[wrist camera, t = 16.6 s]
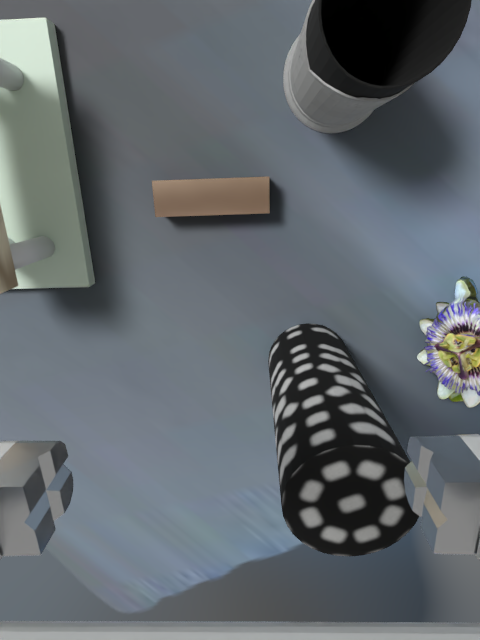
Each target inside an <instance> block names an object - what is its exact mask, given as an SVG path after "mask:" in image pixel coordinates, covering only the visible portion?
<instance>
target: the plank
mask: <svg viewBox="0 0 480 640" xmlns="http://www.w3.org/2000/svg"><path fill="white" fill-rule="evenodd" d="M17 286H18V281H17V277H16V272H15V268H14V263H13V259H12V254H11V250H10V245H9V241H8V236H7V232H6V227H5V223H4V218H3V214H2V209H1V205H0V294H1V293H3V292H6V291H8V290H10V289H12V288H15V287H17Z"/></svg>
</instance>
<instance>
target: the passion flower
mask: <svg viewBox="0 0 480 640" xmlns="http://www.w3.org/2000/svg"><path fill="white" fill-rule="evenodd" d="M476 295H477V288H476V286H475V283H474V282H473V280H471V279H470V278H468V277H461V278H460V279H459V280H457V282H456V287H455V295H454V296H455V300H454V301H453V302H451V303H447V302H437V303H436V307H437V308H436V309H437V311H438V314H437V317H436V318H435V319H429V318H427V319H422V320H420V328H421V330H422V331H423V332H424V334H425V335H426V336H427V339H426V341H425V342H426V343H427V344H428V346H427V347H424V348H425V349H423V350H421V351H420V353H419V354H418V355H417V359H418V360H419V361H420V362H421V363H422V364H424V365H427V366H431V368H430V369H428V370H430V371H431V372H434V373H435V374H436V376H437V377H438V380H439V383H438V388H437V394H438V396H439V398H440V399H446V398H448V397H449V399H450V400H451V401H453V402H459V401H464V403H465V404H466V406H467V407H469V408H470V407H474V406H476V405H478V404H479V403H480V303H479V302H478V300H477V296H476ZM428 370H427V371H428ZM427 371H425V372H427ZM431 372H430V373H431Z"/></svg>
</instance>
